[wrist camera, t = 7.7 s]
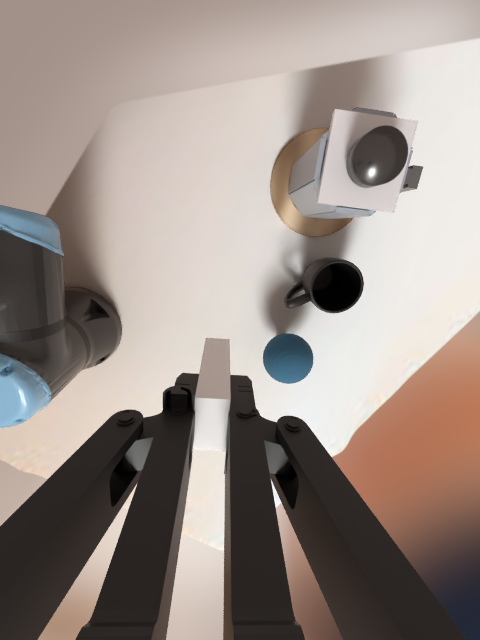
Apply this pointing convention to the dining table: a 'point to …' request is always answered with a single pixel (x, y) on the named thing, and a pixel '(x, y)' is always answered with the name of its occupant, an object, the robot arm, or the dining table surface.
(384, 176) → the plunger
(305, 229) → the cork trivet
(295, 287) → the mug
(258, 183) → the dining table surface
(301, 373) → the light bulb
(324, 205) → the carafe
